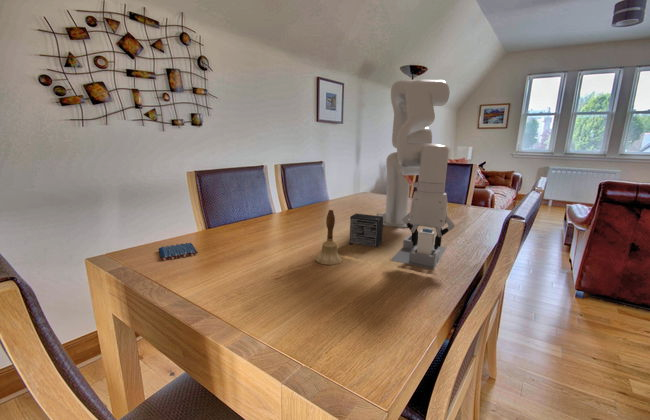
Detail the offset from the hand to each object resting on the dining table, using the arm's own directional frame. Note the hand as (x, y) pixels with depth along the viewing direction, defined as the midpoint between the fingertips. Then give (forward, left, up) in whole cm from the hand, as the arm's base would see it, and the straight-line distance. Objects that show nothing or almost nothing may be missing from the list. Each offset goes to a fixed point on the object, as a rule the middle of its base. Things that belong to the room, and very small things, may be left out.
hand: (425, 245), depth 96 cm
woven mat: (-70, -34, -6) cm, 78 cm away
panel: (-2, +5, -6) cm, 8 cm away
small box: (-22, +6, -6) cm, 24 cm away
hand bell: (-26, -14, -6) cm, 30 cm away
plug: (0, 0, -5) cm, 5 cm away
